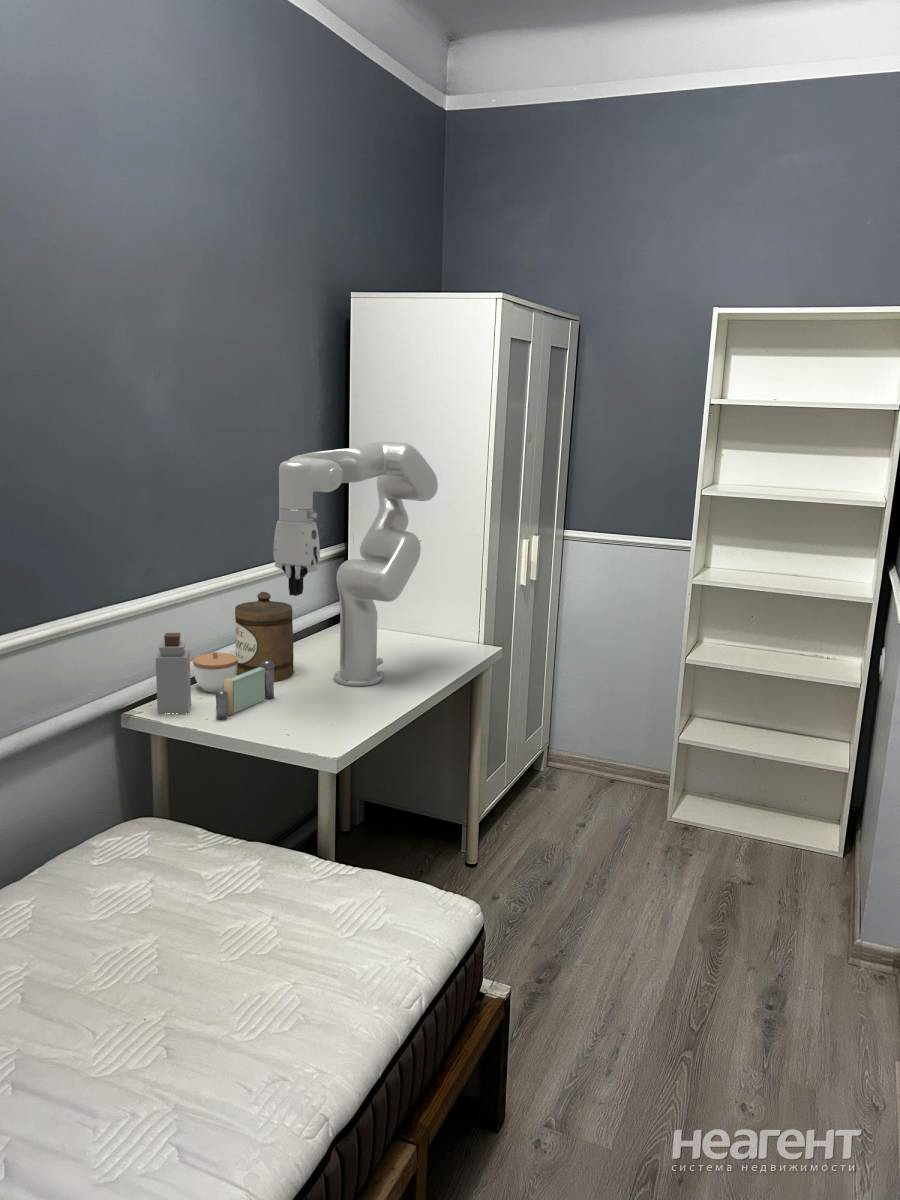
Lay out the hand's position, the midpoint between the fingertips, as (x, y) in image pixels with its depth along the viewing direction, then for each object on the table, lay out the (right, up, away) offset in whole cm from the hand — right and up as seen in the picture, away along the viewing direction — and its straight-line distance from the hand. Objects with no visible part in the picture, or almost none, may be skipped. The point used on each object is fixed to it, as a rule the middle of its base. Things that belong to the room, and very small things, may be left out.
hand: (295, 594), depth 217 cm
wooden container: (-13, -21, +29) cm, 38 cm away
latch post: (-16, -28, -2) cm, 32 cm away
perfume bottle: (-28, -27, 0) cm, 39 cm away
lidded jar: (-23, -24, +16) cm, 36 cm away
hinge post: (-9, -25, +11) cm, 29 cm away
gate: (-13, -26, +3) cm, 29 cm away
